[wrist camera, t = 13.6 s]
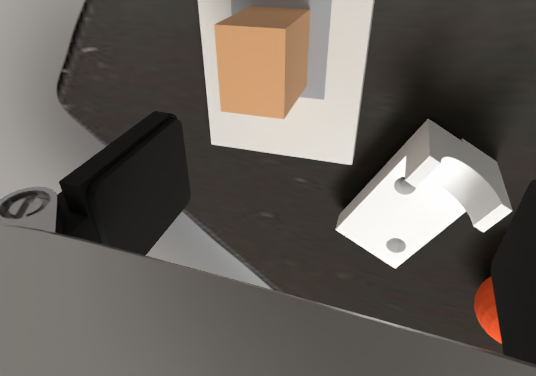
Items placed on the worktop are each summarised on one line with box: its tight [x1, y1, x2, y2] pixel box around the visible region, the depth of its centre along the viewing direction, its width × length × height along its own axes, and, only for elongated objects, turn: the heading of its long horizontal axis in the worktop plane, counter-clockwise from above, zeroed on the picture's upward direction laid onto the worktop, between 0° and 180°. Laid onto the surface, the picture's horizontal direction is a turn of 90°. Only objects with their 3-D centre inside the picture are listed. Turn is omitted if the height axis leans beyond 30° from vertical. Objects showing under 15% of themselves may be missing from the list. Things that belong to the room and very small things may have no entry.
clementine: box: [474, 277, 502, 343], centre depth 37 cm, size 8×7×7 cm
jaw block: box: [214, 6, 310, 119], centre depth 29 cm, size 6×5×7 cm
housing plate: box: [198, 0, 375, 165], centre depth 32 cm, size 20×14×5 cm
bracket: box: [335, 119, 512, 268], centre depth 35 cm, size 13×7×8 cm, turn 152°
